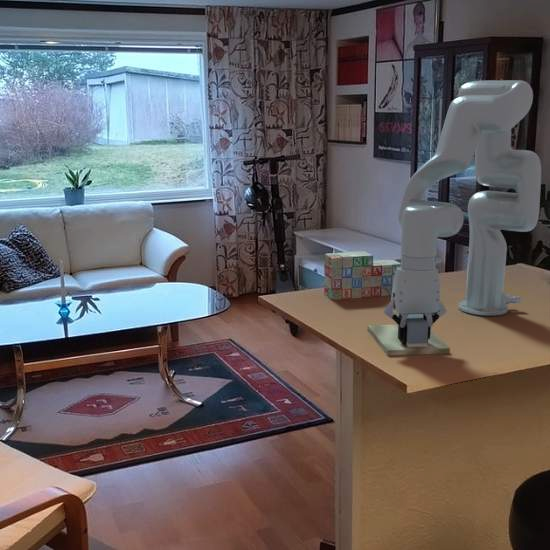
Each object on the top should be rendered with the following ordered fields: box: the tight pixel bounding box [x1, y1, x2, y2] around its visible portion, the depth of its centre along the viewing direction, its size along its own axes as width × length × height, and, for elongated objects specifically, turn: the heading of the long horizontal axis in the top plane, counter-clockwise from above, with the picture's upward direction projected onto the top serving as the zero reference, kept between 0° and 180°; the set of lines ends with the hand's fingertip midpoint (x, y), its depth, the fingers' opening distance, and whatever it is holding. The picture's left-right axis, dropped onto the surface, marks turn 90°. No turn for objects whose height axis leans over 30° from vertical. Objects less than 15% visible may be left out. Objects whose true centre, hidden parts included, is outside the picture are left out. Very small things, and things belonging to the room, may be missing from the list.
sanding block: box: [406, 314, 428, 347], centre depth 158 cm, size 4×8×6 cm, turn 7°
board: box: [367, 323, 451, 357], centre depth 163 cm, size 14×18×1 cm
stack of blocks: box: [323, 250, 400, 300], centre depth 202 cm, size 21×6×12 cm, turn 105°
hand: (413, 341), depth 158 cm, fingers closed on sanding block, 4 cm apart
